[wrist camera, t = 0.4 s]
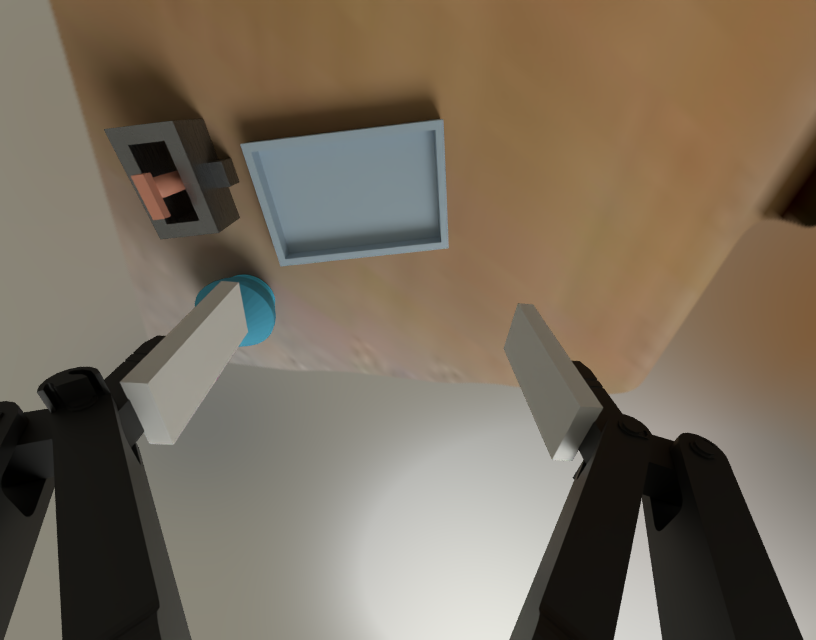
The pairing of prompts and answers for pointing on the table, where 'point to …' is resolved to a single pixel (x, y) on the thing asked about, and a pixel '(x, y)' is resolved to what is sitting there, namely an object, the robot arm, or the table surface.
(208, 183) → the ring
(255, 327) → the perfume bottle
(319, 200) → the tray
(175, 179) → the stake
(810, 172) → the table surface
